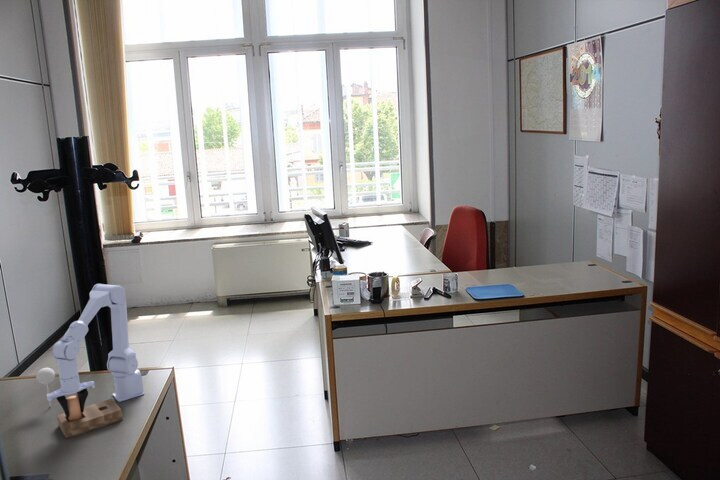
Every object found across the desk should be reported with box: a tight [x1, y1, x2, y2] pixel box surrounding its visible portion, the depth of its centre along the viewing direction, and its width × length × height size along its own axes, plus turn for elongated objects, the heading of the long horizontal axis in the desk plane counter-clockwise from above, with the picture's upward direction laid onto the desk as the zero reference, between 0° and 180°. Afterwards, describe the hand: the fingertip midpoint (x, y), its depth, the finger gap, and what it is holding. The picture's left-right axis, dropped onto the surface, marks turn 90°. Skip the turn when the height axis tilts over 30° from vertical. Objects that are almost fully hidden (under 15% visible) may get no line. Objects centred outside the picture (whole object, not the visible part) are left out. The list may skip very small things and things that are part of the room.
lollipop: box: [35, 367, 56, 408], centre depth 216 cm, size 6×6×15 cm
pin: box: [66, 394, 82, 422], centre depth 201 cm, size 4×4×8 cm
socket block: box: [56, 398, 124, 440], centre depth 205 cm, size 18×11×4 cm, turn 128°
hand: (74, 413), depth 201 cm, fingers closed on pin, 4 cm apart
